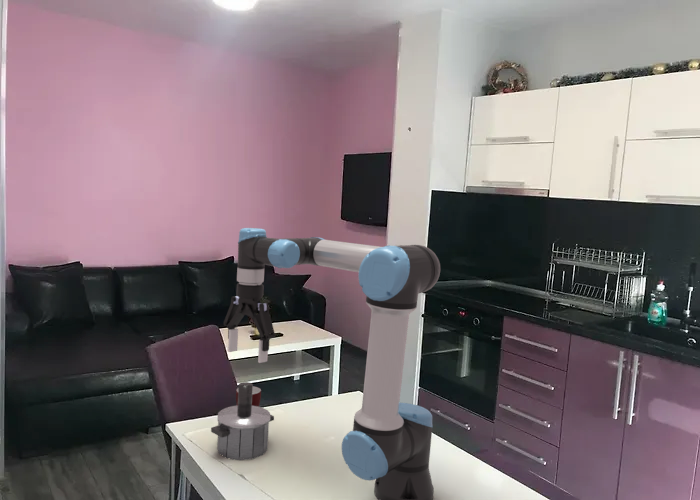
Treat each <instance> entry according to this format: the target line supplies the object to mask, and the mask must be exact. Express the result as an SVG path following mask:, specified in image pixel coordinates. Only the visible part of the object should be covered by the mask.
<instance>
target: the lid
mask: <svg viewBox="0 0 700 500" xmlns="http://www.w3.org/2000/svg"><path fill="white" fill-rule="evenodd" d="M253 385H254V384H253V383H252V382H247V381H245V382H240V383H238V387H237V388H238V405H237V404H236V405H231V406H227V407H225V408H223V409H221V410H219V411H218V413H217V422H219V423H220V424H221V425H222V426H225V427H227V428H232V429H240V430H246V429H255V428H259V427H262V426H264V425H266V424H268V423H269V424H270V422H271V421H270V415H271V412H270V411H269V410H268V409H267V408H264V407H261V406H259V407H258V406H252V390H253ZM269 421H270V422H269Z"/></svg>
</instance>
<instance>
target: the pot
mask: <svg viewBox="0 0 700 500" xmlns="http://www.w3.org/2000/svg"><path fill="white" fill-rule="evenodd" d="M272 421H275V415H272V414H270V421H269V423H268V424H266V425H264V426H262V427H259V428H255V429H246V430H240V429H232V428H227V427H225V426H222V425H221V424H220V423H219V422H218V421H217V422H218V423H217V425H215V426H213V427H211V428H210V432H211V433H212V434H214V435H216V436H217V441H216V442H217V443H216V445H217V447H216V448H217V453H218V455H220V454H221V455H220V456H222V455H223V456H222V457H224V458H225V457H226V458H225V459H228V458H230V460H234V459H235V461H245V460H254V459H256V458H258V457H262V456H263V455H264V454H266V452H267V451H268V444H269V429H270V428H269V427H270V426H269V424H270V422H272Z"/></svg>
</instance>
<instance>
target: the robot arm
mask: <svg viewBox="0 0 700 500" xmlns="http://www.w3.org/2000/svg"><path fill="white" fill-rule="evenodd" d="M238 233H239V234H238V242H237V244H238V245H237V248H238V249H237V270H236V271H237V272H236V282H237V284H236V292H235V293H236V296H231V299H230V305H229V307H228V309H227V313H226V316H225V318H224V320H223V326H226V328H227V329H228V333H227V339H228V346H227V348H228V349H227V351H228V353H232V352H236V351H238V344H239V343H238V340H239V328H238V325H239V324H240V322H241V321H242V319H243V318H244V316H247V317H250V319H251V320H252V321H253V322H254V325H255V327H256V329H257V331H258V332H257V333H258V334H259V336H260V338H259V339H258V357H257V358H258V359H257V360H258V361H257V363H259V364H262V363H266V362H268V358H269V357H268V355H269V350H270V340H271V339H274V338H276V334H275V330H274V326H273V322H272V318H271V314H270V304H269V303H268V302H264V303H262V301H261V299H262V298H263V297H264V289H265V288H264V287H265V285H264V281H265V267H266V266H270V267H276V268H277V269H291V268H293V267H294V266H299V265H312V266H316V267H317V266H319V267H320V266H321V267H325V268H326V267H327V268H331V269H337V270H343V271H348V272H354V273H358V283H359V287H361V288H362V289H361V291H362V292H363V294H364V295H365V296H366V297H365V304H366V305H367V306H368V307H369V309H370V310H371V312H370V313H371V314H370V322H369V323H370V324H369V333H368V340H367V341H368V342H367V343H368V344H367V354H366V361H365V362H366V364H365V373H364V384H363V394H362V400H361V401H362V403H361V408H360V409H359V410H357V411H356V412H355V413H354V416H353V424H352V426H353V428H352V430H351V431H348V433H346V435H345V436H344V437H343V438H342V443H341V454H342V457H343V461H344V462H345V463H344V464H346V465H347V467H348V469H349V470H350V472H351V473H352V474H353V475H354V476H356V477H358V478H360V479H361V480H364V481H374V480H375V481H374V486H373V487H374V489H373V492H374V496H375V497H376V498H377V500H434V494H435V493H434V492H435V490H434V485H433V480H432V477H431V471H430V457H431V456H430V455H431V444H432V435H433V434H432V433H433V427H434V426H433V414H432V413H431V411H430V410H429V409H427V408H426V407H423V406H421V405H418V404H417V405H416V404H413V403H408V402H400V400H401V392H402V391H401V390H402V381H403V380H402V379H403V373H404V364H405V355H406V347H407V346H406V344H407V336H408V327H409V326H408V325H409V319H410V314H411V313H413V312H414V311H415V310H416V309H417V306H418V297H419V294H422V293H426V292H427V291H429V290H431V289H432V288H433V287H434V286H436V285H435V284H437V282H438V280H439V277H440V275H441V274H440V273H441V263H440V260H439V258H438V256H437V255H436V253H435V252H434V251H433V250H432V249H431V248H429V247H427V246H425V245H421V244H409V245H405V244H404V245H401V244H399V245H385V246H378V245H371V244H362V243H361V244H360V243H356V242H355V243H353V242H345V241H339V240H330V239H325V238H323V237H316V236H315V237H314V236H312V237H311V236H310V237H301V238H297V237H295V238H294V237H293V238H286V237H285V238H274V237H268V236H267V231H266V229H264V228H260V227H259V228H255V227H254V228H253V227H243V228H240V230H239V232H238ZM265 265H266V266H265Z"/></svg>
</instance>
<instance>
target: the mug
mask: <svg viewBox="0 0 700 500" xmlns="http://www.w3.org/2000/svg"><path fill="white" fill-rule="evenodd" d="M238 388H239V387H237V388H236V390H235V402H236V403H235V404H236V406H237V405H238ZM261 399H262V390H261V388H260V387H257V386H253V390H252V406H258V407H260V404H261Z"/></svg>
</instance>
